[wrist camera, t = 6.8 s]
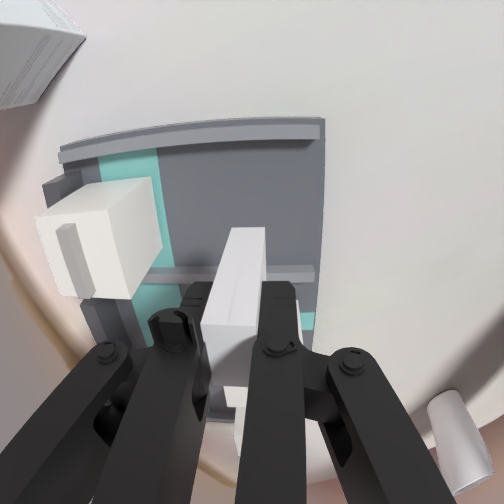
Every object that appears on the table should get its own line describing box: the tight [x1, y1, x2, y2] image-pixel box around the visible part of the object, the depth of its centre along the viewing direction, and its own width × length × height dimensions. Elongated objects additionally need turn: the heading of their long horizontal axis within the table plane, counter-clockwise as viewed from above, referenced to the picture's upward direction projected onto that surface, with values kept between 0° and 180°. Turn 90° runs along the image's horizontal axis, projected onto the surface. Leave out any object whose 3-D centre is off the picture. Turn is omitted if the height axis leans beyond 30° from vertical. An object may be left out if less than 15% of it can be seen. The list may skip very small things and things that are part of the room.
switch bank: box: [42, 117, 325, 423], centre depth 24 cm, size 18×30×5 cm, turn 3°
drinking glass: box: [427, 390, 495, 496], centre depth 26 cm, size 7×7×15 cm
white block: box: [35, 176, 163, 299], centre depth 16 cm, size 5×5×7 cm
